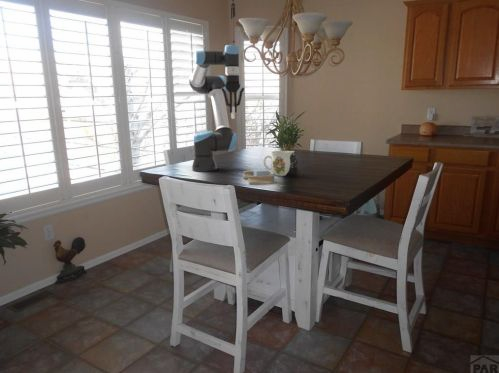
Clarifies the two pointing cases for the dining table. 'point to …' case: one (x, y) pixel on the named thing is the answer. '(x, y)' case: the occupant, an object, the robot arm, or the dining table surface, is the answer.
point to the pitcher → (279, 162)
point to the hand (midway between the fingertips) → (233, 118)
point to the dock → (258, 178)
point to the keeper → (261, 172)
